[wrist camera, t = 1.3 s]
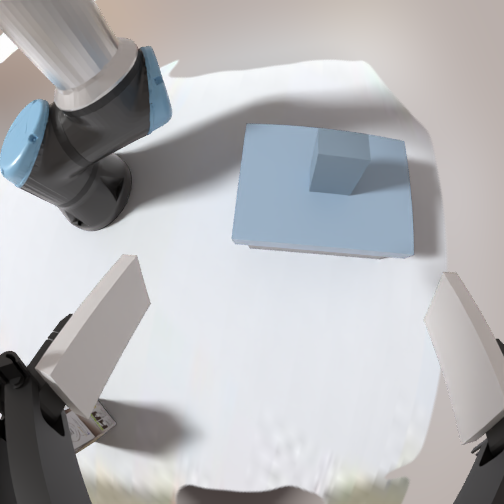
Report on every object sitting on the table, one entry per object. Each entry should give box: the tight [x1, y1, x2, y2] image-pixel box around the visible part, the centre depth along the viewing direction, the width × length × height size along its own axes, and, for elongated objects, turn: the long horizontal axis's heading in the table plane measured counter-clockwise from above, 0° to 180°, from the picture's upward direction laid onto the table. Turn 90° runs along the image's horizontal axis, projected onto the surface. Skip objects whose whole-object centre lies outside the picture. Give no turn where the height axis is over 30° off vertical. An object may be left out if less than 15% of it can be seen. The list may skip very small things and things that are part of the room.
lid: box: [232, 124, 414, 258], centre depth 30 cm, size 22×16×12 cm
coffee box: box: [64, 401, 116, 454], centre depth 32 cm, size 9×6×16 cm
